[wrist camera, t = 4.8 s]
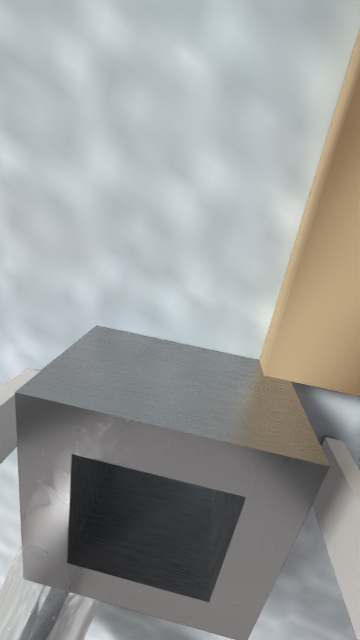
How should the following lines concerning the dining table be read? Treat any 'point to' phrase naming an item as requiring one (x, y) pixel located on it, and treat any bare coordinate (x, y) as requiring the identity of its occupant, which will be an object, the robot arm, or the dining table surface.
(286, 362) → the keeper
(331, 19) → the dining table surface
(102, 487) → the grey hollow square block
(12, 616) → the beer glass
